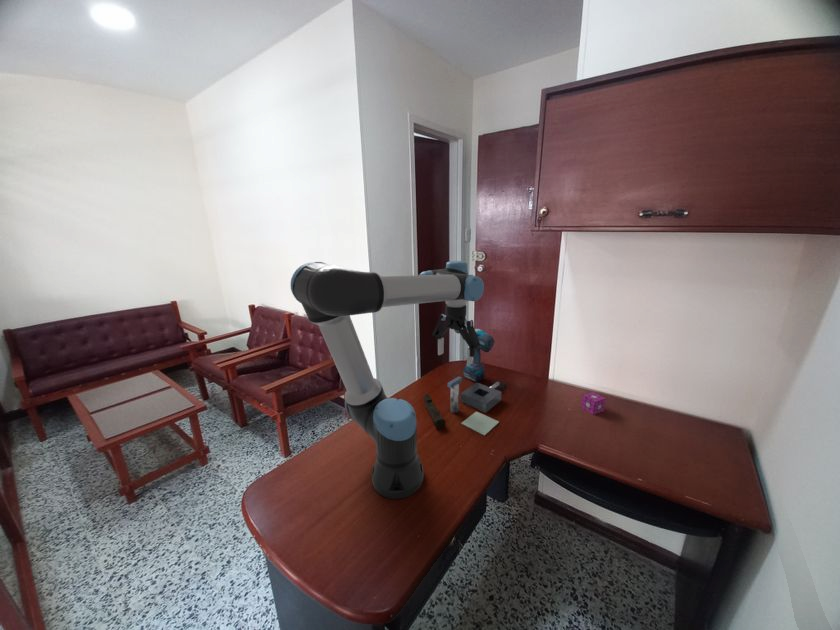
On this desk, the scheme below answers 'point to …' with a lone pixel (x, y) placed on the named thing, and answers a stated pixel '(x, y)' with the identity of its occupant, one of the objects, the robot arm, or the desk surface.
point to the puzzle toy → (593, 403)
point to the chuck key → (454, 394)
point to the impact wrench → (478, 356)
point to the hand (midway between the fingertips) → (454, 358)
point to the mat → (480, 423)
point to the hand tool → (434, 412)
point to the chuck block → (481, 396)
